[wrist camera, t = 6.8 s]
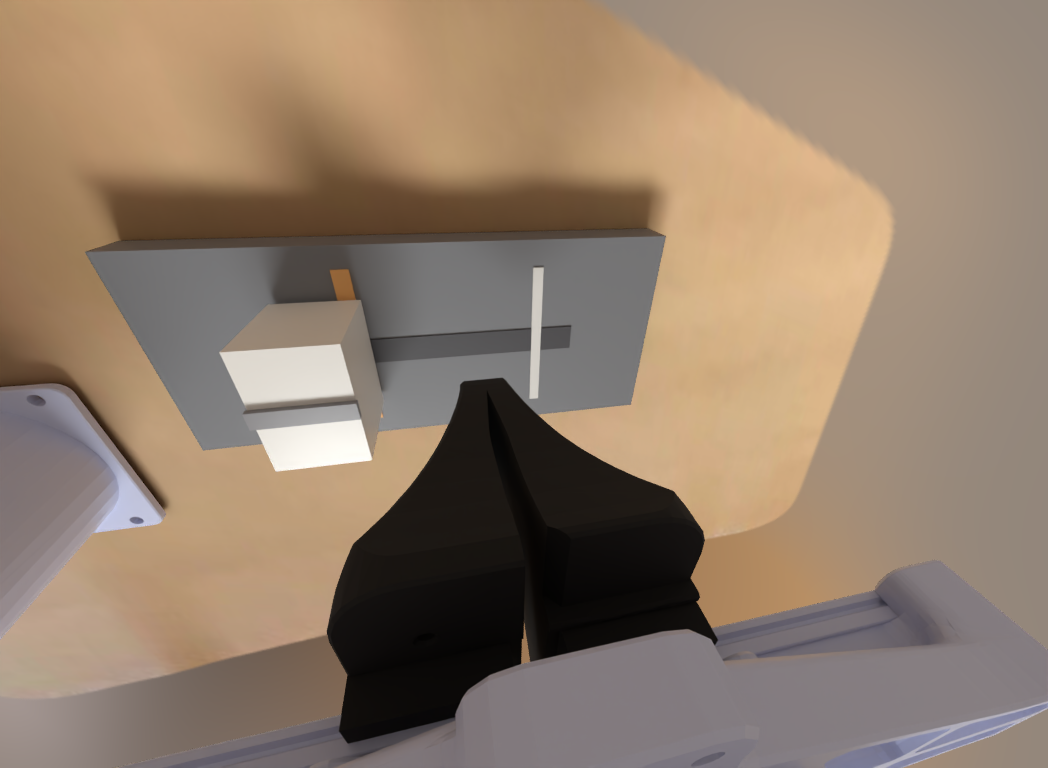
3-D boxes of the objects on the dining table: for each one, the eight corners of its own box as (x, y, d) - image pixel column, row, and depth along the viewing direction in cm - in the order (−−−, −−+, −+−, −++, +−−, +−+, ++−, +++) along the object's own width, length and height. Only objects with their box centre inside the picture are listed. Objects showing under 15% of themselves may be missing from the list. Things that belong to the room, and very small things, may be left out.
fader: (304, 408, 15) (272, 476, 12) (266, 304, 13) (213, 356, 10) (385, 401, 16) (373, 463, 13) (362, 299, 13) (340, 347, 10)
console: (220, 427, 17) (202, 451, 16) (119, 240, 13) (82, 252, 11) (618, 388, 20) (631, 405, 19) (647, 228, 16) (666, 236, 15)
